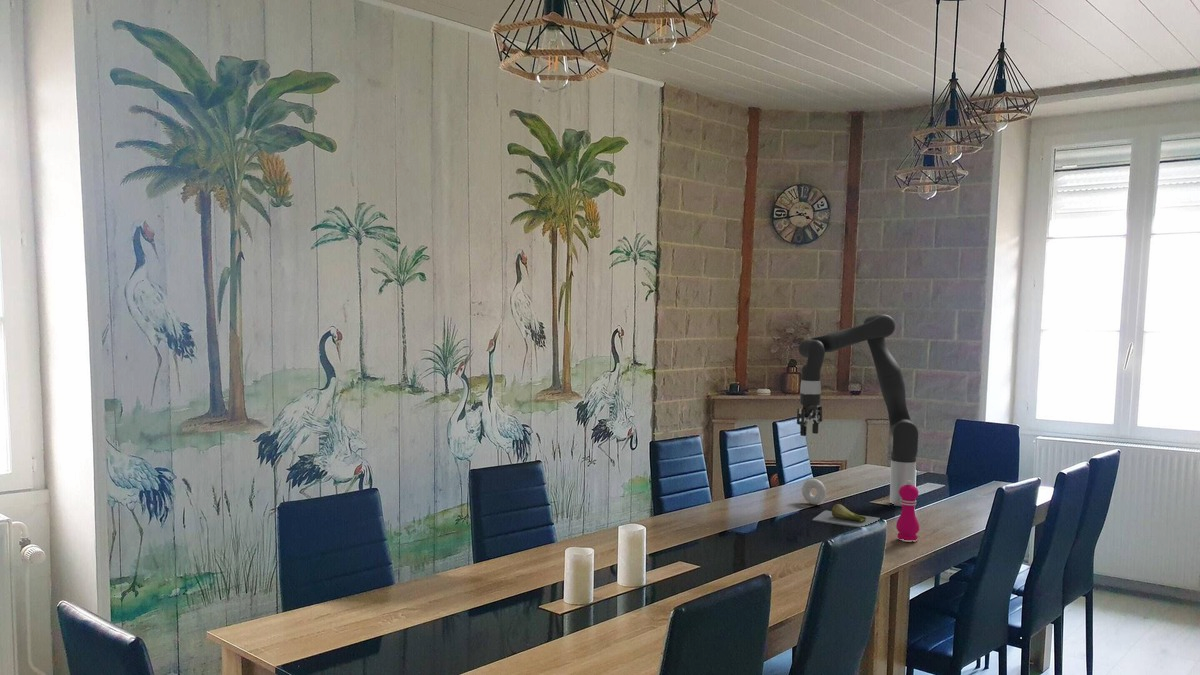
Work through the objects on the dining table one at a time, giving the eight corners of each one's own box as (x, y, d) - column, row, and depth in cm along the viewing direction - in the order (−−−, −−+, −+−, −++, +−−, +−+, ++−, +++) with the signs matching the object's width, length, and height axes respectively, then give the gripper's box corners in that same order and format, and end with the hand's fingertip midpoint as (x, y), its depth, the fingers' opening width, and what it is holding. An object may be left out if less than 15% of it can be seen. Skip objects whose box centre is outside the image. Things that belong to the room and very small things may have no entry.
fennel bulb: (828, 512, 303) (861, 523, 296) (833, 500, 304) (865, 510, 297) (832, 518, 307) (864, 528, 300) (837, 505, 309) (868, 516, 302)
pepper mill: (919, 538, 280) (921, 479, 279) (918, 544, 274) (920, 483, 273) (896, 536, 283) (898, 477, 282) (894, 541, 277) (896, 481, 276)
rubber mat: (825, 511, 316) (825, 510, 316) (879, 519, 305) (879, 517, 305) (812, 520, 302) (812, 519, 302) (869, 529, 292) (869, 527, 292)
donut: (827, 506, 325) (828, 480, 324) (823, 507, 322) (823, 481, 322) (804, 501, 332) (805, 476, 331) (800, 502, 329) (800, 477, 329)
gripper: (811, 390, 327) (810, 431, 328) (791, 392, 317) (790, 435, 318) (828, 391, 322) (827, 434, 323) (809, 394, 312) (807, 437, 313)
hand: (809, 434), depth 320 cm, fingers open, 8 cm apart
